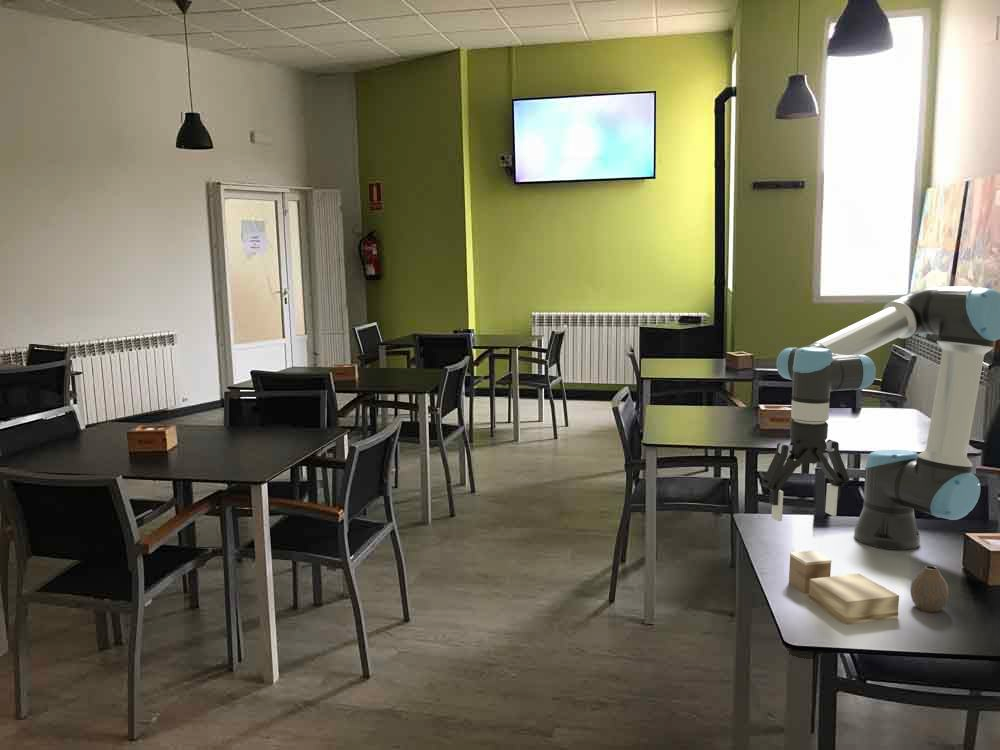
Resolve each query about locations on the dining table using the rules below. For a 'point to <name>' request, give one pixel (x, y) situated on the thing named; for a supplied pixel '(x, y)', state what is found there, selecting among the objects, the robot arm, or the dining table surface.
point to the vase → (929, 590)
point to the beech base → (853, 598)
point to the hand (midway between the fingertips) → (803, 516)
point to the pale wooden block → (807, 569)
